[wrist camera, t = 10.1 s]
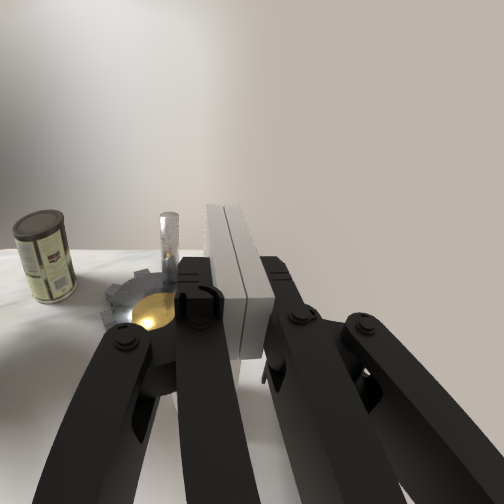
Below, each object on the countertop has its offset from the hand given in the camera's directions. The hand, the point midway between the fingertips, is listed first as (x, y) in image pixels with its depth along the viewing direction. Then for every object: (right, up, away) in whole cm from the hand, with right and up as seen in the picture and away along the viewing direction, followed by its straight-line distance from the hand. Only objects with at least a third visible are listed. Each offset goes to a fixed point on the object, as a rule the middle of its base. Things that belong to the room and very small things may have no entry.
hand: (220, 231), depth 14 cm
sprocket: (-14, -11, +33) cm, 37 cm away
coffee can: (-37, -8, +33) cm, 50 cm away
